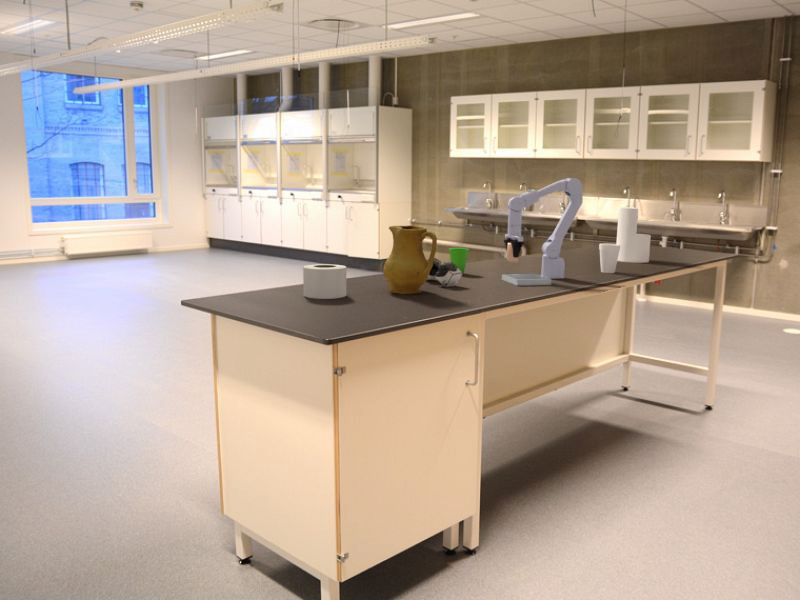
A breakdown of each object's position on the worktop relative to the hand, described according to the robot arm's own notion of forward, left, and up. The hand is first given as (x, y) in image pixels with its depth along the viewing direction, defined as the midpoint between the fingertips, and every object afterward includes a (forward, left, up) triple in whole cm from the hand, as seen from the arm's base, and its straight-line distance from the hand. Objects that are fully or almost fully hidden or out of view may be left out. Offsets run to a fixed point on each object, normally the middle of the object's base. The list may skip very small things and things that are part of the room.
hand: (513, 256), depth 321 cm
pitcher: (+57, +31, -9) cm, 66 cm away
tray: (+1, +16, -9) cm, 18 cm away
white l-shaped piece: (-92, -49, -9) cm, 105 cm away
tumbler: (0, 0, -2) cm, 2 cm away
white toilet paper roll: (+89, +34, -9) cm, 96 cm away
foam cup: (-53, -9, -9) cm, 55 cm away
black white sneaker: (+37, +12, -9) cm, 40 cm away
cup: (+20, -14, -9) cm, 26 cm away
